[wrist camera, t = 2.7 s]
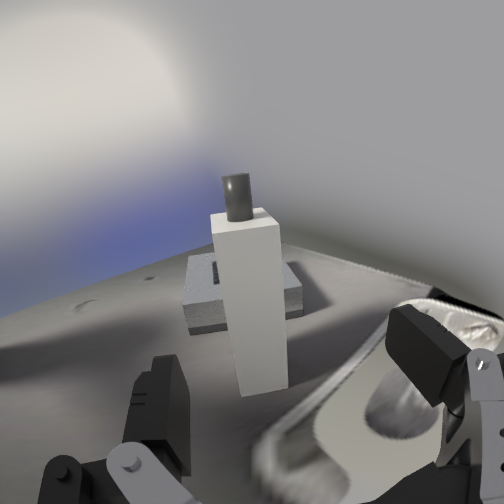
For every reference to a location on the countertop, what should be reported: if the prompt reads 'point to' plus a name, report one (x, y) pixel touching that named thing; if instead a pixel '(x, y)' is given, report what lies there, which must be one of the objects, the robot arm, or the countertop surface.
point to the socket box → (210, 296)
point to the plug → (251, 288)
